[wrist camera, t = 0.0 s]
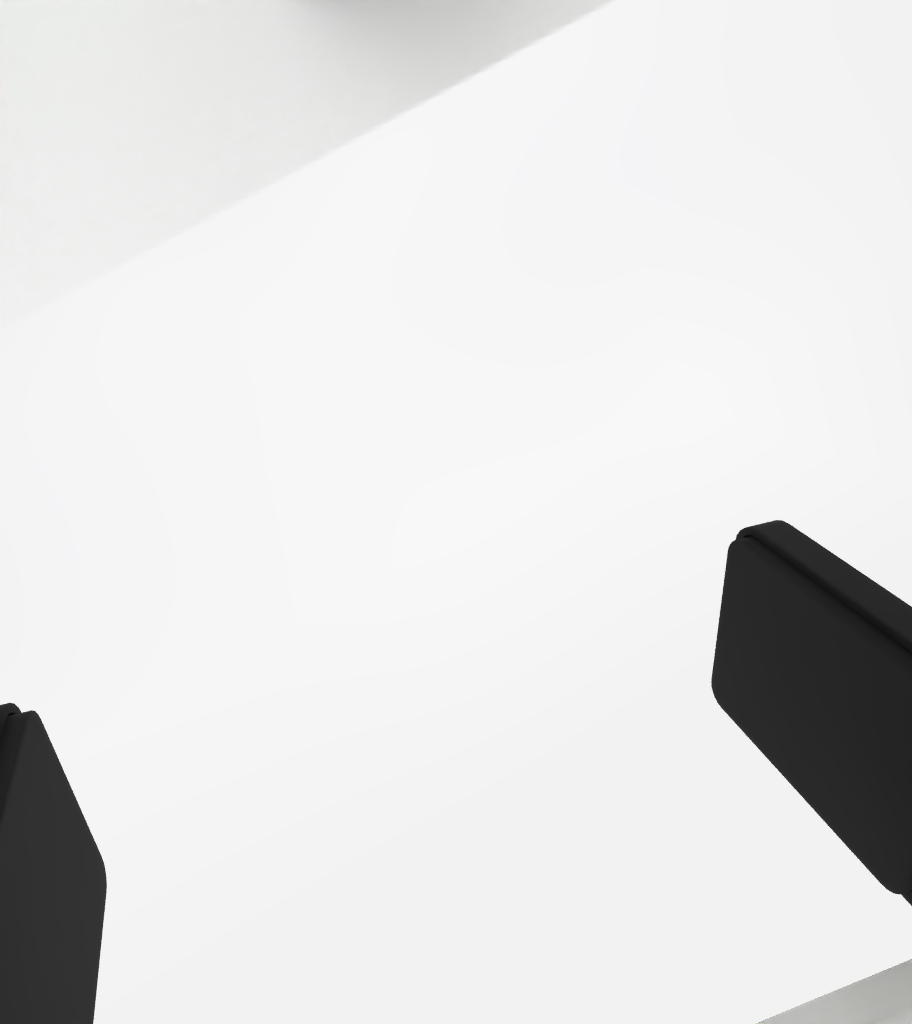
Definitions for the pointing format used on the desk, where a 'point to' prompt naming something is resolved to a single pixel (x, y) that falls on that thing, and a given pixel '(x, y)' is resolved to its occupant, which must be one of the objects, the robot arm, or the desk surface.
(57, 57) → the desk surface
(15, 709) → the robot arm
